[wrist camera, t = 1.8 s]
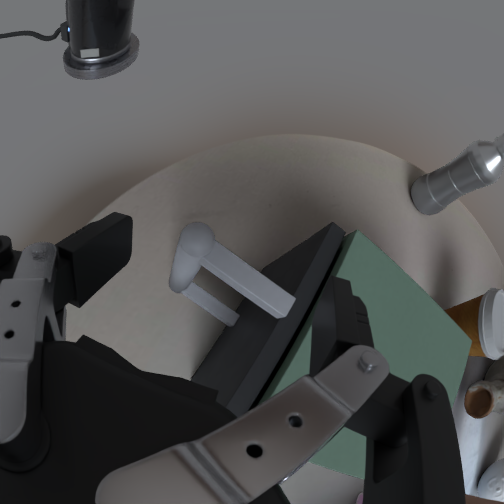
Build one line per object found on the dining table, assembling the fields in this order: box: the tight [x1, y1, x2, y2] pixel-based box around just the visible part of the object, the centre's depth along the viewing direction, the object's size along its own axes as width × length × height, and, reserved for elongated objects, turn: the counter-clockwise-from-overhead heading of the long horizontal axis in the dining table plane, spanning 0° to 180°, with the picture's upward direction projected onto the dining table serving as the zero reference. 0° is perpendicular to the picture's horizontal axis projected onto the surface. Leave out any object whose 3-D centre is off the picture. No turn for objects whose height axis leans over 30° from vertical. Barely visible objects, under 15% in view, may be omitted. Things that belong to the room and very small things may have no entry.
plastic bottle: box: [411, 134, 504, 215], centre depth 34 cm, size 6×7×20 cm
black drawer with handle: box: [169, 222, 346, 417], centre depth 22 cm, size 22×14×15 cm, turn 59°
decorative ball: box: [478, 458, 504, 502], centre depth 28 cm, size 12×12×12 cm
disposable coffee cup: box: [444, 288, 504, 360], centre depth 31 cm, size 10×10×12 cm
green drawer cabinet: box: [248, 230, 472, 479], centre depth 23 cm, size 16×14×14 cm
